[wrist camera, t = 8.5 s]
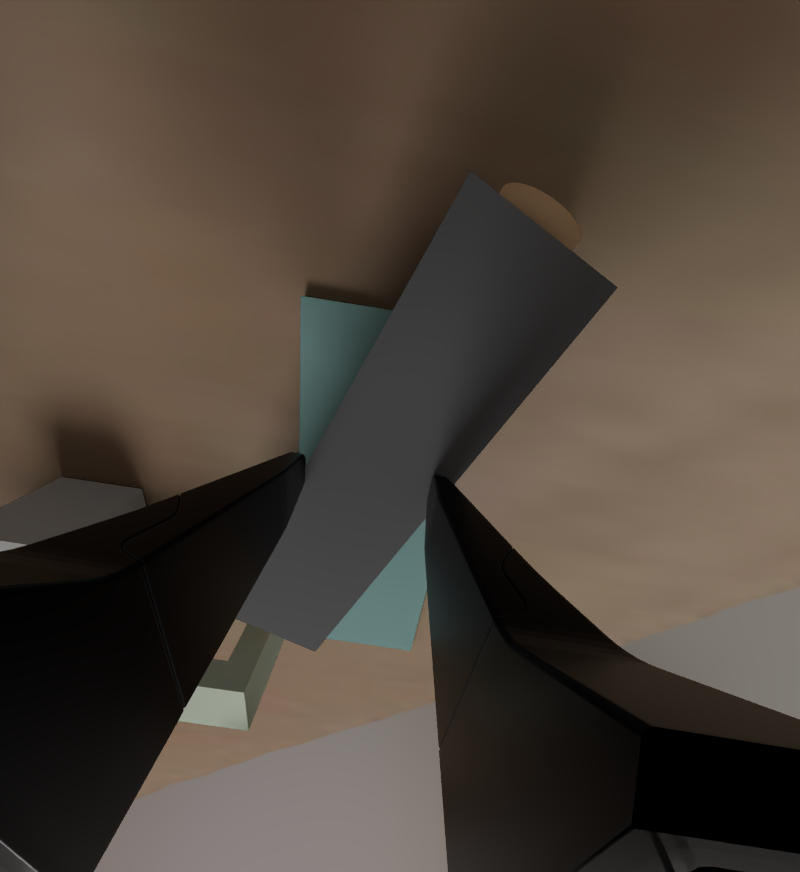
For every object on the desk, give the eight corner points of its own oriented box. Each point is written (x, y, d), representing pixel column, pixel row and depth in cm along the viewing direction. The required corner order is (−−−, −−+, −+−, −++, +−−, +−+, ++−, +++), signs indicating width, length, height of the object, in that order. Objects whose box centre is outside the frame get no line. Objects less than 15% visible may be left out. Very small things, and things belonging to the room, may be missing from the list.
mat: (410, 644, 19) (410, 650, 19) (299, 627, 19) (297, 634, 19) (492, 326, 11) (495, 327, 11) (304, 295, 11) (300, 296, 11)
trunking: (171, 609, 19) (112, 683, 15) (106, 599, 19) (33, 671, 15) (142, 489, 15) (55, 548, 12) (61, 476, 15) (-51, 533, 12)
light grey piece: (295, 611, 18) (248, 730, 13) (71, 578, 18) (-62, 687, 13) (295, 575, 17) (244, 692, 12) (55, 540, 17) (-98, 644, 12)
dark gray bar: (262, 550, 16) (331, 581, 17) (217, 624, 12) (307, 660, 13) (465, 190, 9) (564, 267, 10) (495, 124, 6) (647, 251, 6)
